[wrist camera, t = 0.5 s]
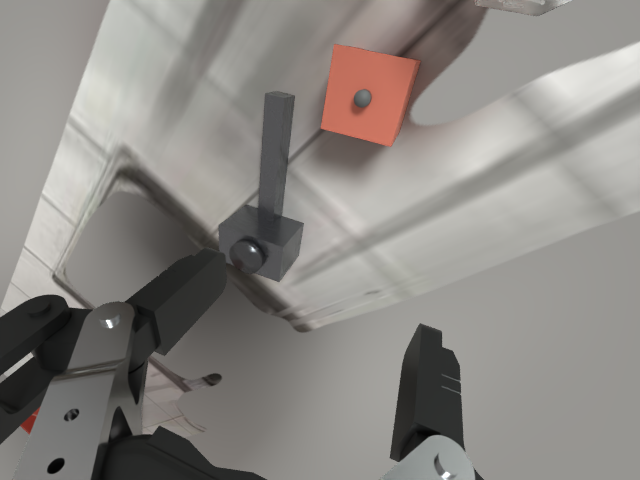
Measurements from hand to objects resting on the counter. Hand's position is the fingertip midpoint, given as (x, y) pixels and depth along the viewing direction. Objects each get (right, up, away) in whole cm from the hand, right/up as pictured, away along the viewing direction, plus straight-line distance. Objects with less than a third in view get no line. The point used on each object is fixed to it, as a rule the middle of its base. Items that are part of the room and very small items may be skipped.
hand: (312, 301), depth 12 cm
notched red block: (+6, +16, +16) cm, 23 cm away
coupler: (-5, +9, +24) cm, 26 cm away
